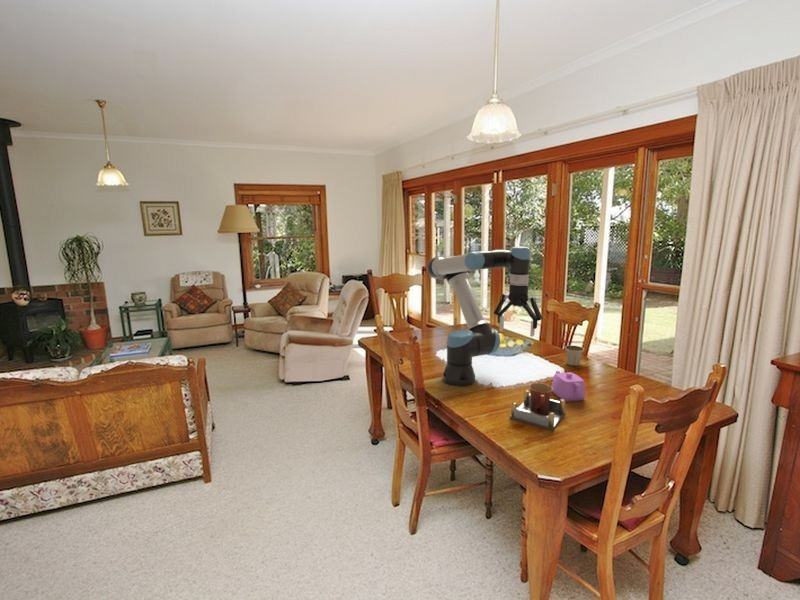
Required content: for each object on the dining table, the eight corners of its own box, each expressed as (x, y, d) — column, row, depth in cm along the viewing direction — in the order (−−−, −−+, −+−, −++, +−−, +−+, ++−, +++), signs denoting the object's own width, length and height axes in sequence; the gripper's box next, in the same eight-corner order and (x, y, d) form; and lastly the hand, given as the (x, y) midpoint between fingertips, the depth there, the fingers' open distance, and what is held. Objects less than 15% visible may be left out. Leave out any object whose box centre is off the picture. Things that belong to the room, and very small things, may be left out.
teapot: (545, 387, 185) (546, 366, 183) (567, 386, 187) (568, 364, 185) (566, 405, 168) (568, 382, 166) (590, 403, 169) (593, 380, 167)
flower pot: (565, 359, 220) (567, 344, 219) (584, 363, 215) (586, 347, 213) (561, 364, 213) (562, 348, 211) (580, 368, 208) (581, 352, 206)
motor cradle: (509, 418, 158) (510, 403, 156) (524, 403, 170) (525, 389, 169) (552, 430, 148) (553, 415, 147) (565, 413, 161) (566, 399, 159)
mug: (526, 406, 165) (527, 382, 163) (549, 408, 163) (551, 383, 161) (529, 420, 154) (530, 394, 152) (554, 422, 152) (555, 396, 150)
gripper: (487, 282, 176) (485, 330, 180) (546, 288, 161) (543, 340, 165) (494, 280, 182) (492, 326, 186) (552, 285, 167) (548, 335, 171)
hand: (516, 333), depth 176 cm, fingers open, 13 cm apart
